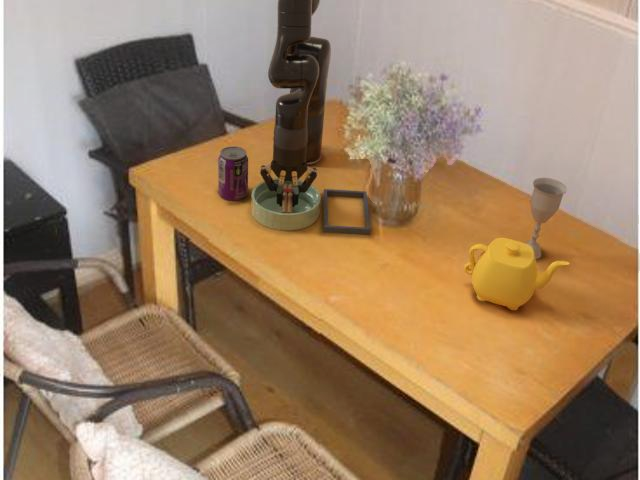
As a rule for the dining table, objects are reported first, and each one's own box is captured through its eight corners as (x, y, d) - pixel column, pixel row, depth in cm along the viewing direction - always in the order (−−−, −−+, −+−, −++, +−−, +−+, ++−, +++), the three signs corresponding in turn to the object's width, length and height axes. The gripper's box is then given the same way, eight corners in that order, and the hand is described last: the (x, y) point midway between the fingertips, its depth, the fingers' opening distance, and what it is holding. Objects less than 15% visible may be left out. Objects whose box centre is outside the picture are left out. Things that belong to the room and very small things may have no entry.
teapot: (467, 264, 163) (478, 217, 156) (557, 289, 158) (573, 242, 151) (453, 300, 153) (464, 251, 145) (550, 329, 148) (567, 280, 140)
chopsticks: (282, 191, 179) (283, 183, 177) (292, 192, 179) (293, 183, 177) (281, 220, 169) (281, 211, 168) (291, 220, 169) (292, 211, 168)
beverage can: (246, 204, 177) (246, 161, 170) (216, 202, 177) (216, 158, 170) (249, 188, 183) (249, 146, 176) (220, 186, 182) (220, 144, 175)
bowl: (253, 193, 181) (254, 175, 178) (318, 196, 182) (320, 179, 179) (248, 230, 168) (249, 212, 165) (319, 234, 169) (320, 216, 166)
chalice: (547, 248, 171) (568, 182, 160) (544, 264, 166) (566, 197, 155) (516, 240, 172) (534, 174, 162) (512, 256, 167) (531, 189, 157)
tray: (323, 195, 182) (323, 188, 181) (365, 198, 183) (366, 191, 182) (323, 234, 169) (324, 227, 168) (369, 236, 169) (370, 229, 168)
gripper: (321, 134, 167) (316, 197, 177) (260, 131, 166) (258, 195, 177) (321, 150, 161) (316, 215, 171) (258, 147, 160) (256, 212, 170)
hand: (287, 204), depth 174 cm, fingers closed on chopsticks, 2 cm apart
